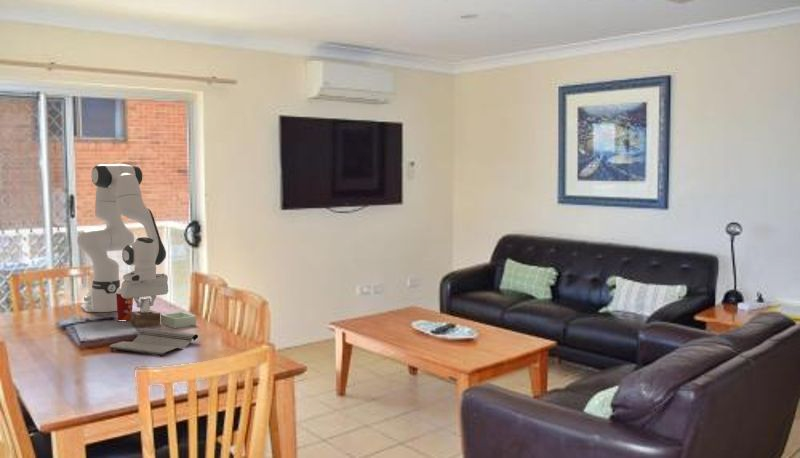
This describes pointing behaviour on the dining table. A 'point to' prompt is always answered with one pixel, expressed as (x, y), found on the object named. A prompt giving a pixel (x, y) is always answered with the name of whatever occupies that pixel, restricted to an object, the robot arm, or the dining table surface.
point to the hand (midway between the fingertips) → (145, 306)
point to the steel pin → (145, 306)
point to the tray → (178, 319)
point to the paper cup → (123, 306)
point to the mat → (156, 342)
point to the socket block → (145, 318)
